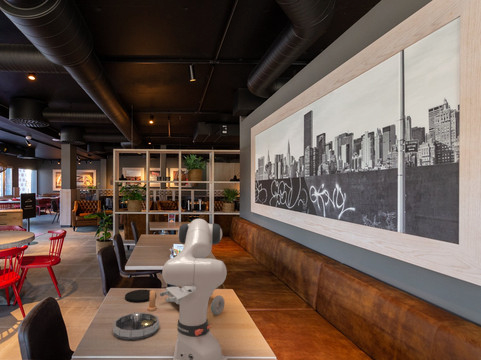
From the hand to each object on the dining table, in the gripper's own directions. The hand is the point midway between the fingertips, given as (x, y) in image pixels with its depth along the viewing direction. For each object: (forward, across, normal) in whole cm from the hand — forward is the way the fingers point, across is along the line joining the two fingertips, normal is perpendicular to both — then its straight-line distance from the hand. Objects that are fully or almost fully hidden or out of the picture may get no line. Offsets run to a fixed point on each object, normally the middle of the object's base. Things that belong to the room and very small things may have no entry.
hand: (163, 297), depth 175 cm
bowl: (+19, +20, +6) cm, 28 cm away
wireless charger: (+6, -21, +6) cm, 23 cm away
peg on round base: (+6, 0, +6) cm, 8 cm away
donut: (-22, +22, +6) cm, 32 cm away
